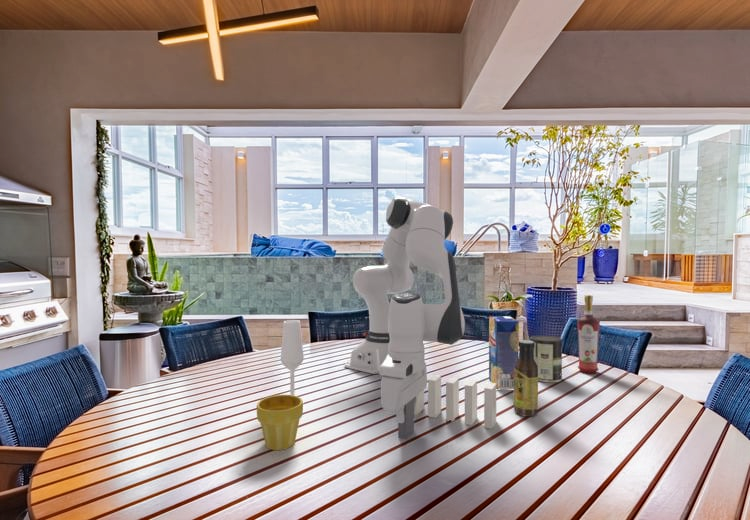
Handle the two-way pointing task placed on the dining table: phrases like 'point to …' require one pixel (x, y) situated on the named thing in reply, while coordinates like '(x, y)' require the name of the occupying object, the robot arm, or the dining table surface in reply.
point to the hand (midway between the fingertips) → (406, 417)
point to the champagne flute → (292, 348)
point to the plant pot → (279, 420)
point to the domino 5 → (470, 402)
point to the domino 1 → (407, 421)
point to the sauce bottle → (526, 380)
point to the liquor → (588, 338)
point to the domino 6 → (490, 405)
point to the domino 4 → (452, 398)
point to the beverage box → (503, 350)
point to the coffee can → (548, 357)
